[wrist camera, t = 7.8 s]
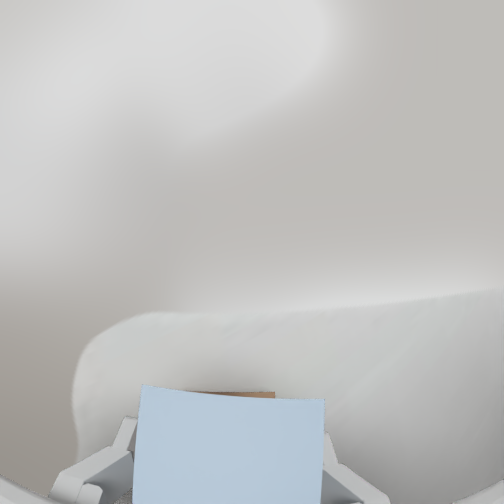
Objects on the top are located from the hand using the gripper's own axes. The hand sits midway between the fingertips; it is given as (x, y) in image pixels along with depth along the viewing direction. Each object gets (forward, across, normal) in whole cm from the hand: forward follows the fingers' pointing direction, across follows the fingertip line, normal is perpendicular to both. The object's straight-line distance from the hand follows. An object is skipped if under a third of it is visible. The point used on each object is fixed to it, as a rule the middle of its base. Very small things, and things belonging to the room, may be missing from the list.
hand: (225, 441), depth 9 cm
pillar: (+3, 0, +4) cm, 5 cm away
